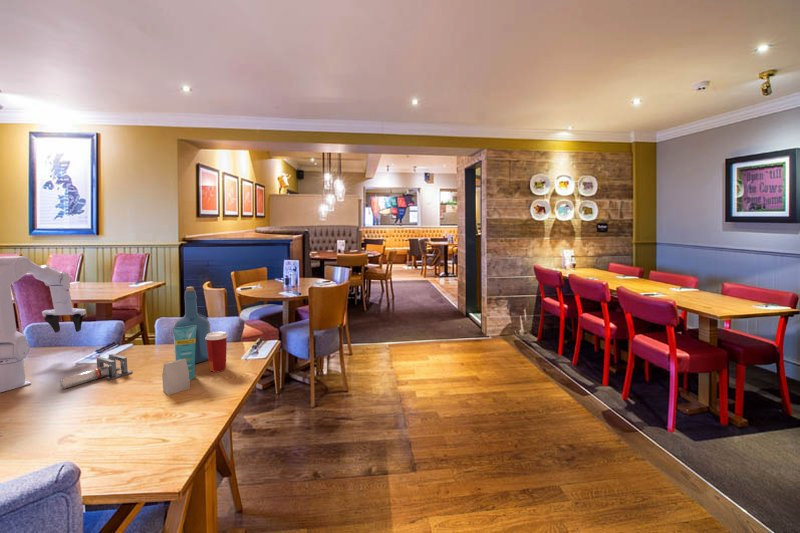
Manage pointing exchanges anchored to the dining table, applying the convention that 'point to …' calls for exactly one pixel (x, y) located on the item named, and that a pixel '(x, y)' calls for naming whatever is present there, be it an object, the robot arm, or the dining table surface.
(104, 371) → the silver cylinder
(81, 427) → the dining table surface
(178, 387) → the tea bag
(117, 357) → the collar
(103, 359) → the grey holder stand
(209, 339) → the paper cup
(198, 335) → the wine bottle
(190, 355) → the tube
